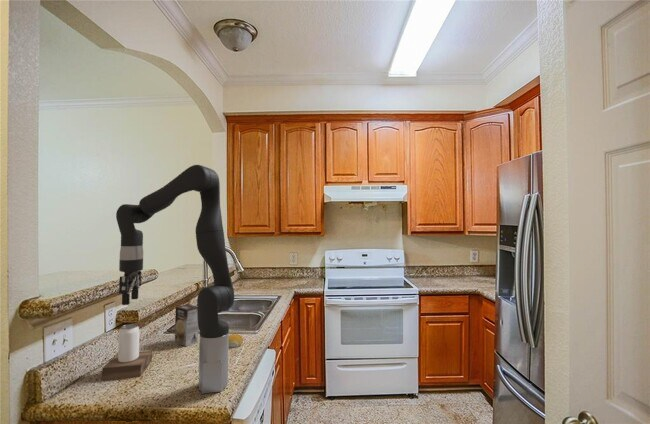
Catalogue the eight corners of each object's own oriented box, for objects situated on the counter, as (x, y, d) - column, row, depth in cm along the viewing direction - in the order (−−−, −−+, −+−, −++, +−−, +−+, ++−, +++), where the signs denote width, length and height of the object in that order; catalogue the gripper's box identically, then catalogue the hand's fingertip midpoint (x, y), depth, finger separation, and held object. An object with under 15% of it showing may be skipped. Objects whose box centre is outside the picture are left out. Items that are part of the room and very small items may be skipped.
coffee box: (173, 342, 140) (174, 306, 141) (186, 338, 146) (187, 303, 146) (186, 346, 135) (186, 309, 136) (198, 342, 141) (199, 306, 141)
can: (135, 353, 118) (136, 322, 119) (141, 359, 114) (142, 326, 114) (115, 359, 113) (116, 326, 114) (121, 364, 109) (121, 330, 109)
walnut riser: (140, 376, 109) (140, 364, 109) (102, 379, 107) (102, 368, 107) (151, 361, 121) (151, 351, 121) (117, 364, 118) (117, 353, 118)
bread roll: (243, 340, 144) (244, 331, 144) (241, 347, 135) (241, 338, 135) (225, 340, 143) (225, 332, 143) (221, 348, 134) (221, 339, 134)
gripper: (135, 259, 109) (134, 306, 108) (149, 255, 123) (148, 296, 122) (111, 260, 107) (110, 307, 107) (128, 256, 121) (126, 297, 121)
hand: (130, 301), depth 115 cm, fingers open, 8 cm apart
